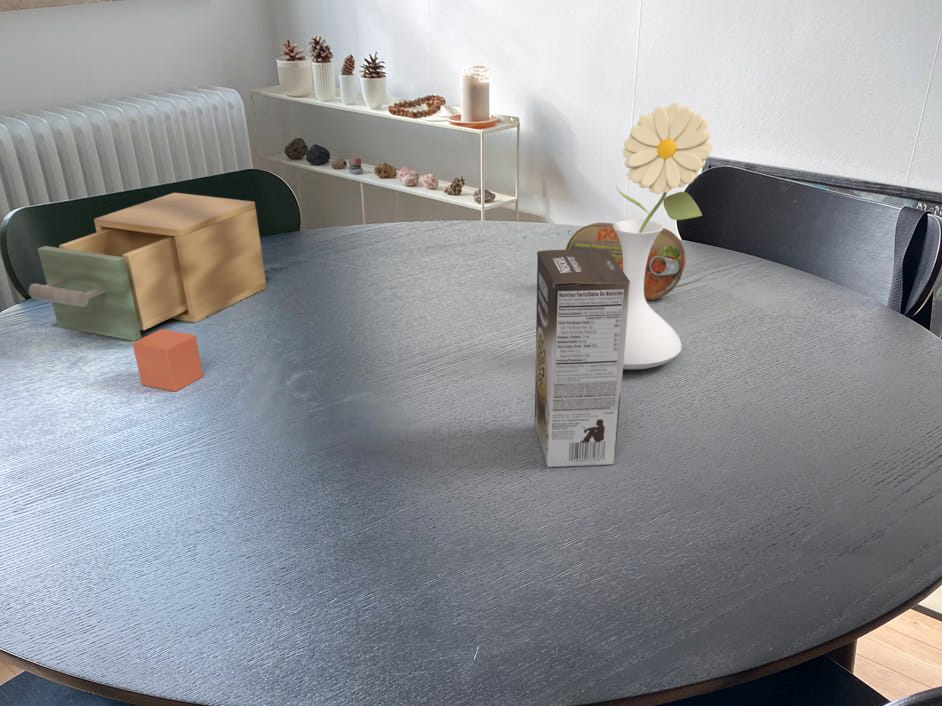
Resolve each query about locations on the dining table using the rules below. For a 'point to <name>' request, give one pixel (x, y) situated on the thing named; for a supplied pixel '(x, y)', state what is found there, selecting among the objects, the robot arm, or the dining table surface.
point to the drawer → (113, 282)
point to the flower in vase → (660, 168)
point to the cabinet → (203, 246)
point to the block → (168, 360)
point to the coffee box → (579, 355)
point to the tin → (661, 262)
